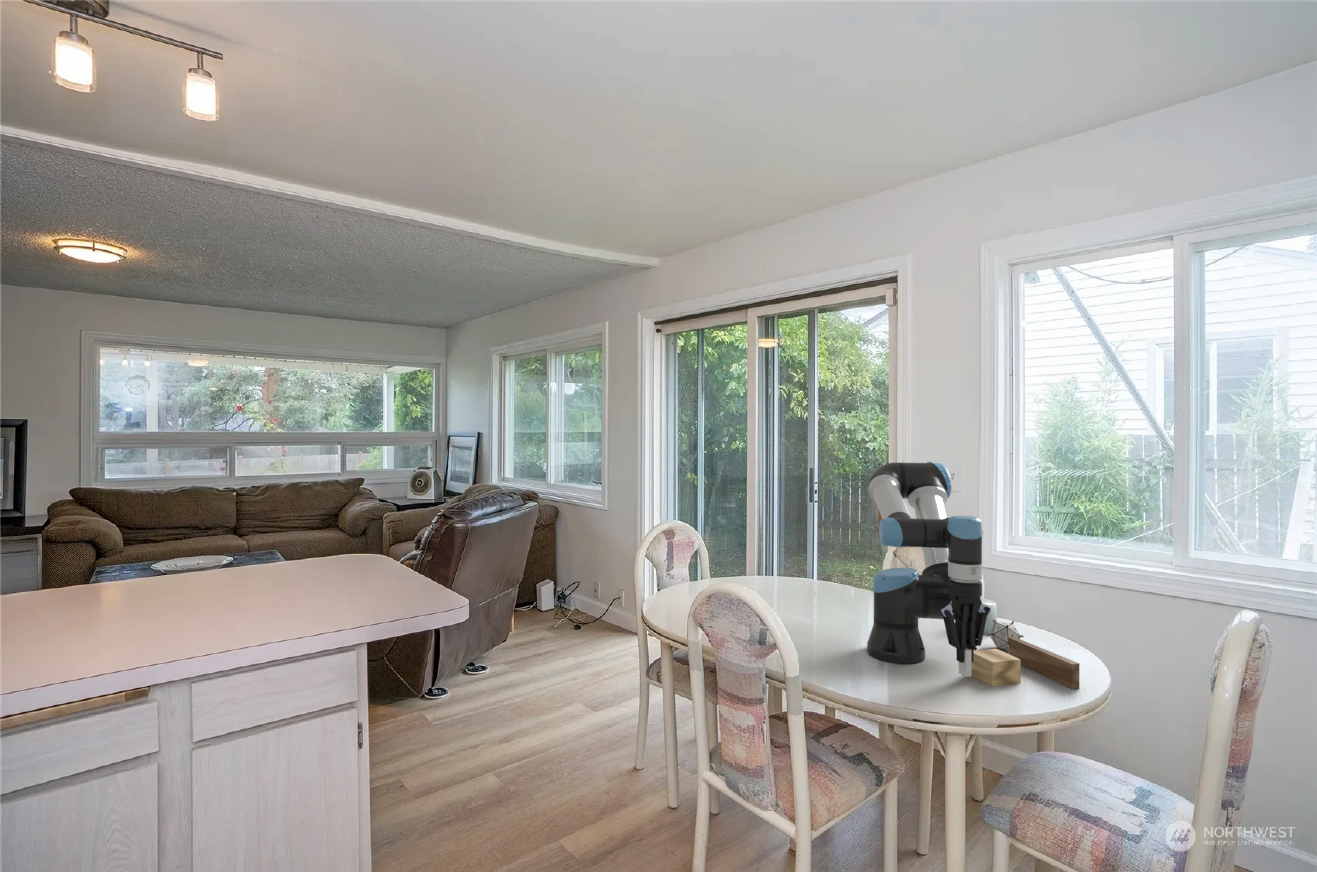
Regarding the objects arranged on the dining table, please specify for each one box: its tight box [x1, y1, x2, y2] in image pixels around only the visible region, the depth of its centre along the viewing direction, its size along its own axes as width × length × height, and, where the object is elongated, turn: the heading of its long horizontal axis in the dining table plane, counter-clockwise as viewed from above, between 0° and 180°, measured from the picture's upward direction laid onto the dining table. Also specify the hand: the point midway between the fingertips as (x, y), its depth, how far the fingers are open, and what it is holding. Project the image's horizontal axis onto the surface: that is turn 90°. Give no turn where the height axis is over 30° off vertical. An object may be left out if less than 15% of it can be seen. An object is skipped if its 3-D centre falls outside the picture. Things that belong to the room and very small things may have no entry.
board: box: [1008, 637, 1080, 690], centre depth 161 cm, size 2×20×6 cm, turn 13°
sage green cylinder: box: [980, 598, 998, 636], centre depth 195 cm, size 8×8×9 cm
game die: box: [986, 620, 1025, 650], centre depth 178 cm, size 9×8×10 cm
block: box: [971, 648, 1022, 687], centre depth 158 cm, size 8×8×6 cm
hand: (965, 674), depth 156 cm, fingers closed
